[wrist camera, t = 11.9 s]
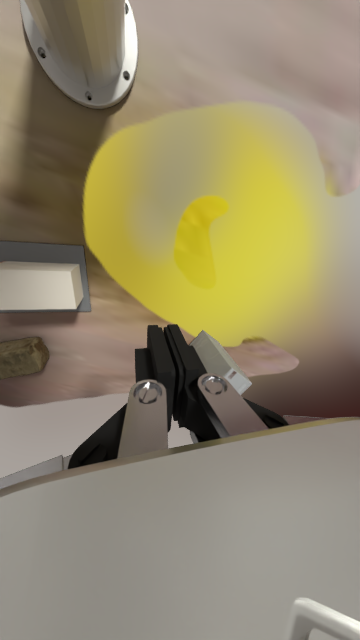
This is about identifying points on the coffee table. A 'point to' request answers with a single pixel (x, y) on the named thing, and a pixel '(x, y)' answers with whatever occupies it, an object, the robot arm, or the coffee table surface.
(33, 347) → the stone block
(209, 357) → the skincare box
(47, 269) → the cream rectangular block
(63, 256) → the rubber mat
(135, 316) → the coffee table surface
